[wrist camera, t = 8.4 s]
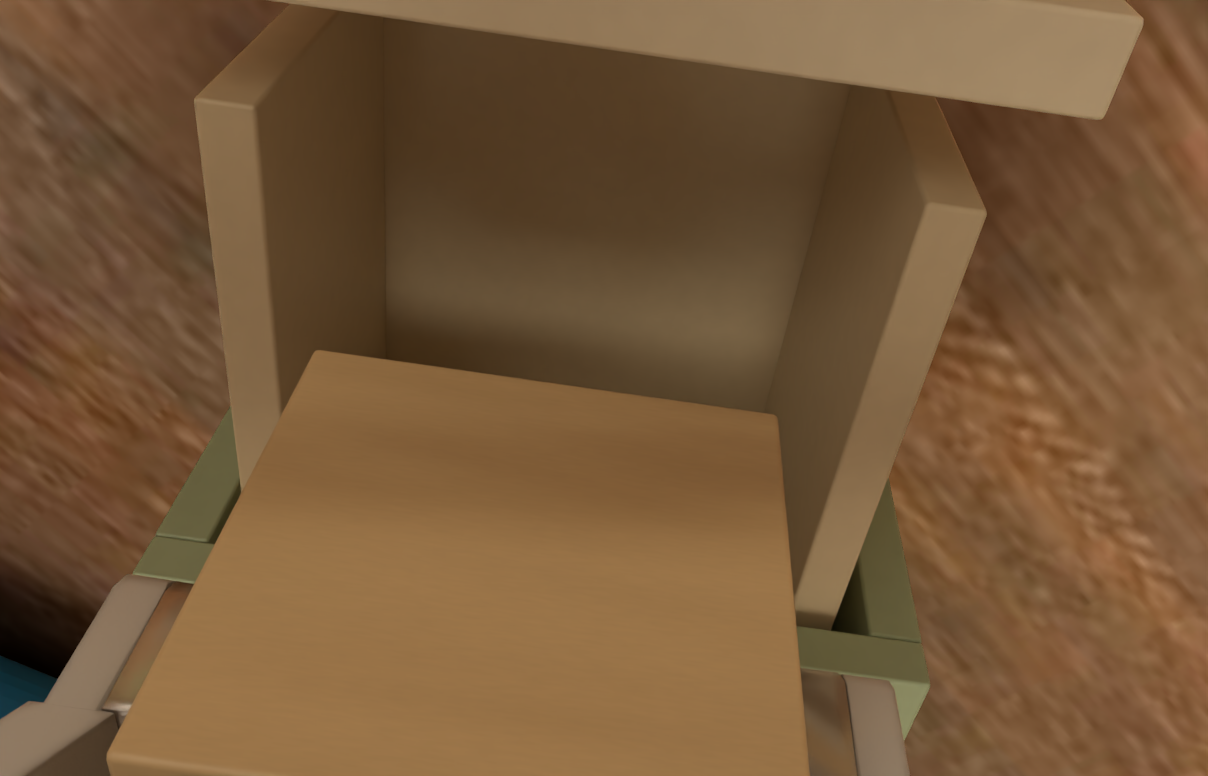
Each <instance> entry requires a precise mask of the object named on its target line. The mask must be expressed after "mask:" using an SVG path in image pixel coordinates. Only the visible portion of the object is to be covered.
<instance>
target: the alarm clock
mask: <svg viewBox="0 0 1208 776" xmlns="http://www.w3.org/2000/svg"><path fill="white" fill-rule="evenodd" d="M56 681H57V678H54V677H52V676H49V675H47V674H44V673H42V672H40V671H37V670H35V669H32V668H30V667H27V666H25V665H22V664H20V663H17V662H15V661H12V660H10V659H7V658H5V657H3V656H0V719H1V718H3V717H4V716H6V715H7V714H9V713H11V712H12V711H14V710H15V709H17V708H19V707H20V706H22V705H23V704H25V703H26V702H28V701H35V702H44V701H45V699H46V698H47V696H48V694H49V693H50V691H51V689H52V688H53V686H54V684H55V683H56Z"/></svg>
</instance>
